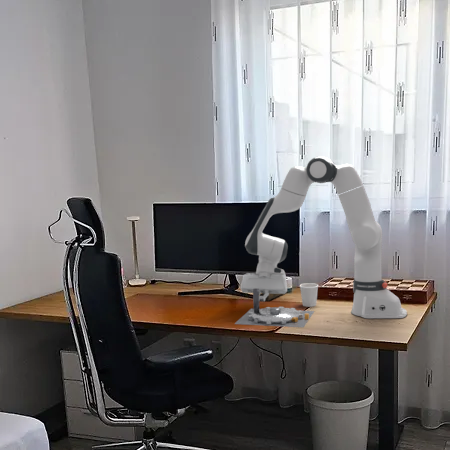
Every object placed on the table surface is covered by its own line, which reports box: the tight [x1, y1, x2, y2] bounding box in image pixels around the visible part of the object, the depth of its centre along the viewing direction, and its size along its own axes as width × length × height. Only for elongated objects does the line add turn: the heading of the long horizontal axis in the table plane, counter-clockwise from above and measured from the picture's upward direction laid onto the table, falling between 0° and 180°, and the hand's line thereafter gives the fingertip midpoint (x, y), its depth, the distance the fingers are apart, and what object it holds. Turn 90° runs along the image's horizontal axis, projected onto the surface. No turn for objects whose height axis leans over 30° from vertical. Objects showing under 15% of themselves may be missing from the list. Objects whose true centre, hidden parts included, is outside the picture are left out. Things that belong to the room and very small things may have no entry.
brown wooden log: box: [259, 293, 285, 303], centre depth 280 cm, size 23×5×6 cm, turn 144°
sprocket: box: [248, 288, 303, 324], centre depth 239 cm, size 23×23×12 cm
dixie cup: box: [299, 282, 319, 308], centre depth 258 cm, size 8×8×10 cm
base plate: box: [234, 308, 315, 328], centre depth 240 cm, size 28×25×3 cm
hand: (261, 300), depth 248 cm, fingers closed
